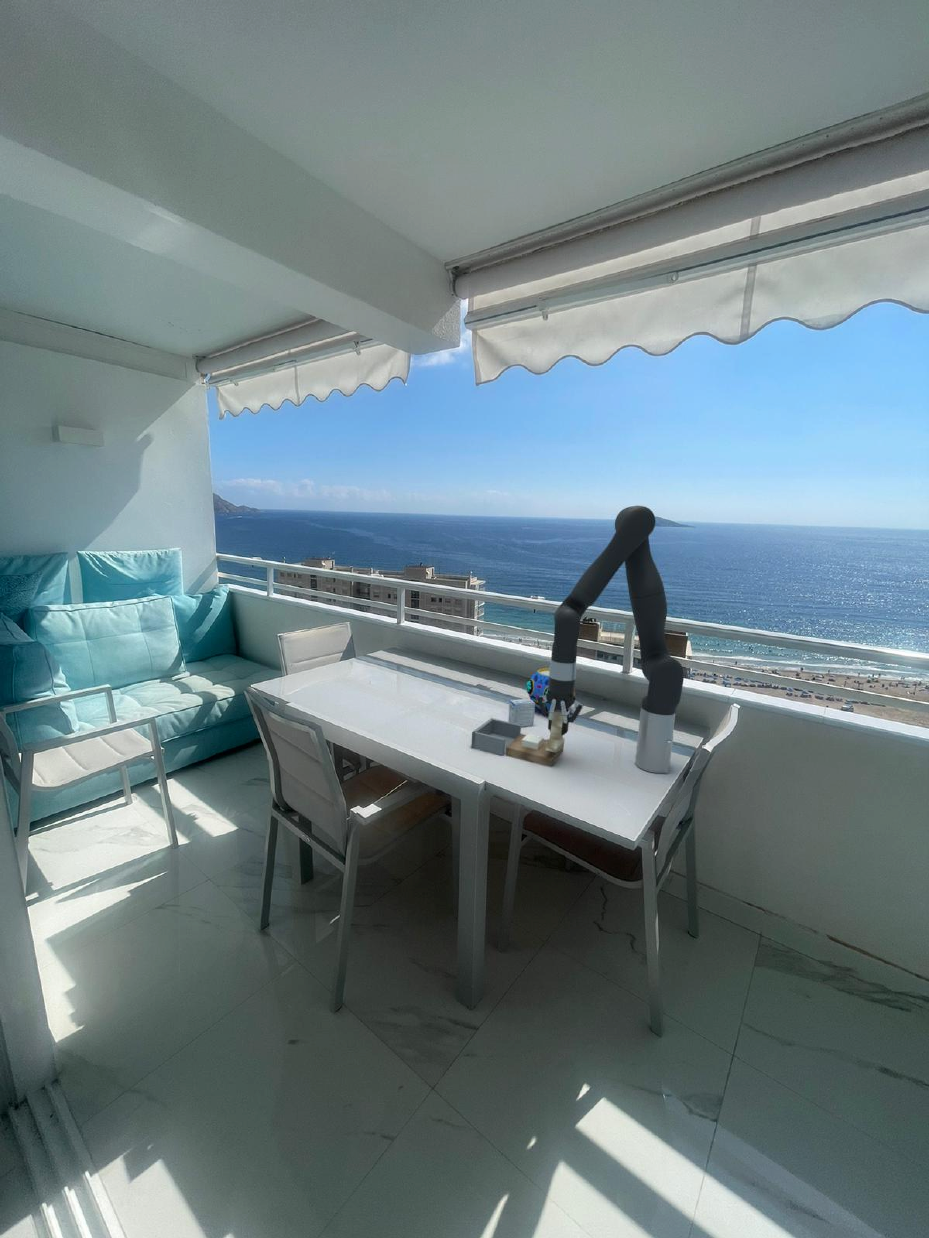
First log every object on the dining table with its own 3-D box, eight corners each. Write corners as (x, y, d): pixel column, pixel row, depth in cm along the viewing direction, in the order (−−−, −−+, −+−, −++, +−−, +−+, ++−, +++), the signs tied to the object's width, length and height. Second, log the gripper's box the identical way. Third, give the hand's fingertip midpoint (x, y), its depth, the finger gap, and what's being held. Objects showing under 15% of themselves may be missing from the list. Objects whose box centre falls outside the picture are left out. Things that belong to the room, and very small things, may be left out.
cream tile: (542, 743, 147) (543, 737, 146) (537, 749, 142) (537, 743, 142) (527, 740, 149) (527, 733, 149) (521, 745, 144) (521, 739, 144)
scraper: (563, 747, 143) (568, 711, 143) (555, 752, 136) (561, 713, 136) (553, 745, 144) (558, 709, 145) (545, 749, 137) (550, 711, 137)
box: (520, 739, 155) (521, 724, 154) (502, 755, 143) (503, 740, 142) (490, 732, 160) (491, 718, 159) (471, 747, 148) (472, 732, 147)
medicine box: (527, 721, 171) (529, 698, 170) (533, 726, 167) (535, 702, 166) (507, 723, 168) (509, 699, 167) (513, 728, 164) (515, 704, 163)
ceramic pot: (517, 709, 183) (519, 670, 180) (544, 699, 196) (547, 663, 193) (555, 722, 171) (559, 681, 168) (582, 711, 183) (585, 673, 181)
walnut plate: (563, 751, 148) (563, 743, 147) (551, 767, 137) (551, 758, 137) (520, 741, 154) (520, 733, 154) (505, 755, 143) (506, 747, 143)
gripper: (534, 674, 138) (530, 731, 141) (583, 683, 132) (578, 742, 135) (543, 669, 145) (539, 723, 148) (589, 676, 138) (584, 733, 141)
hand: (557, 732), depth 141 cm, fingers closed on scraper, 3 cm apart
